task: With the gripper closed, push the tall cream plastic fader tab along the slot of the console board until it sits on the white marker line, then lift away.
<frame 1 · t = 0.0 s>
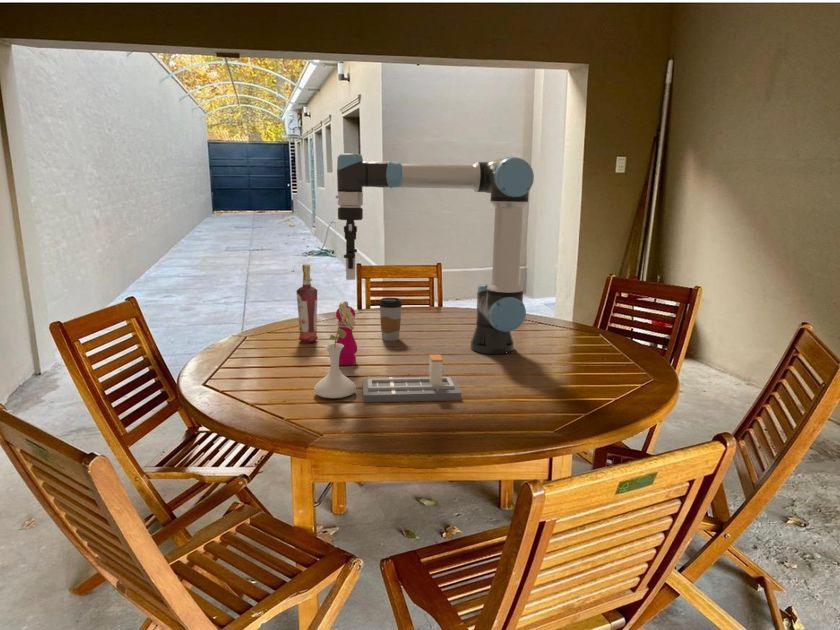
hand: (350, 276, 179), 28 cm above the table, fingers open, 13 cm apart
fader: (435, 370, 158), point 6 cm above the table, slide at -7.0 cm
console: (410, 392, 159), on the table
pepper mill: (346, 362, 185), on the table
flower in vase: (337, 394, 157), on the table
coffee cup: (390, 339, 214), on the table
liquor: (308, 342, 209), on the table
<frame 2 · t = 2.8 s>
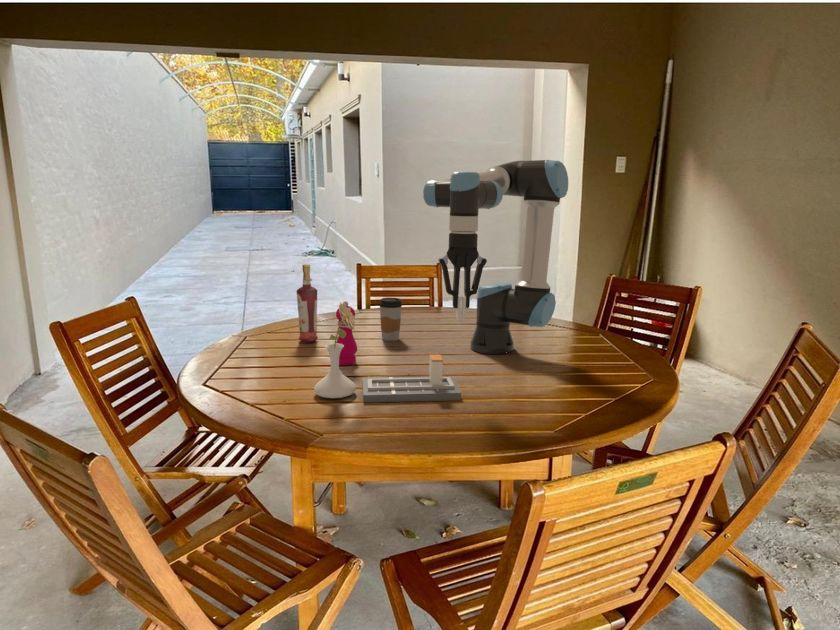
hand: (460, 319, 156), 20 cm above the table, fingers closed
nothing on the table moved.
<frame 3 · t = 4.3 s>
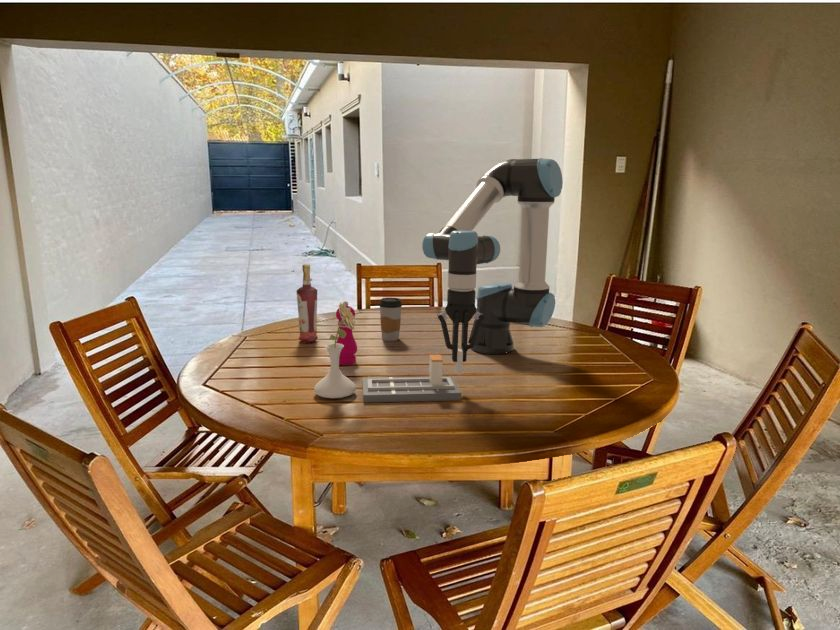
hand: (458, 372, 159), 5 cm above the table, fingers closed
nothing on the table moved.
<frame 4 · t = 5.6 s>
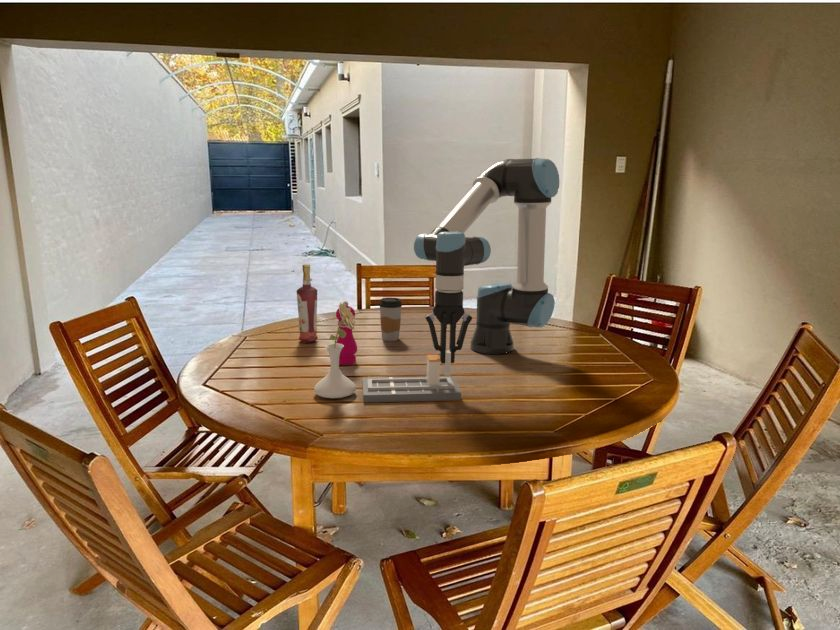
hand: (446, 374, 159), 5 cm above the table, fingers closed
fader: (433, 370, 158), point 6 cm above the table, slide at -6.2 cm, touching gripper
everything else where it was.
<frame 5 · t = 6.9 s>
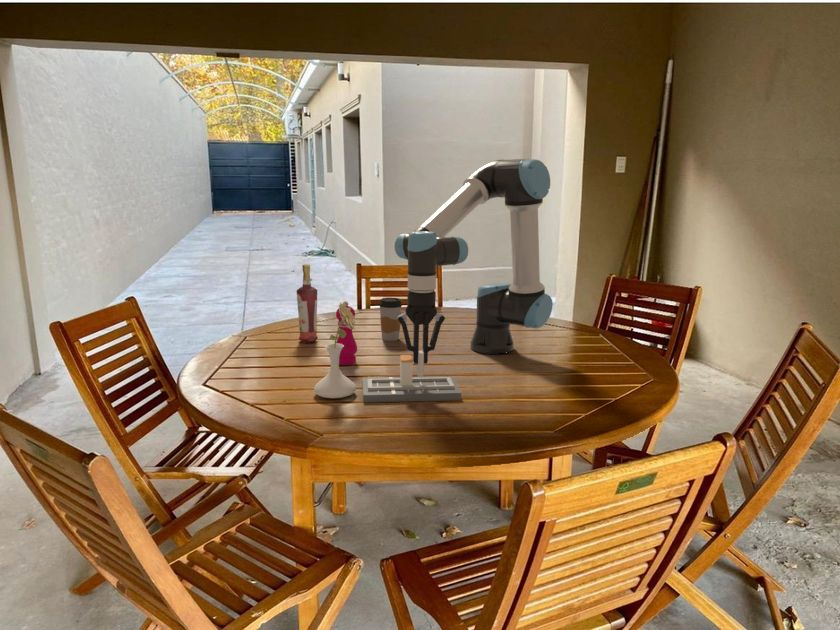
hand: (420, 374, 158), 5 cm above the table, fingers closed
fader: (406, 371, 157), point 6 cm above the table, slide at 1.2 cm, touching gripper
everything else where it was.
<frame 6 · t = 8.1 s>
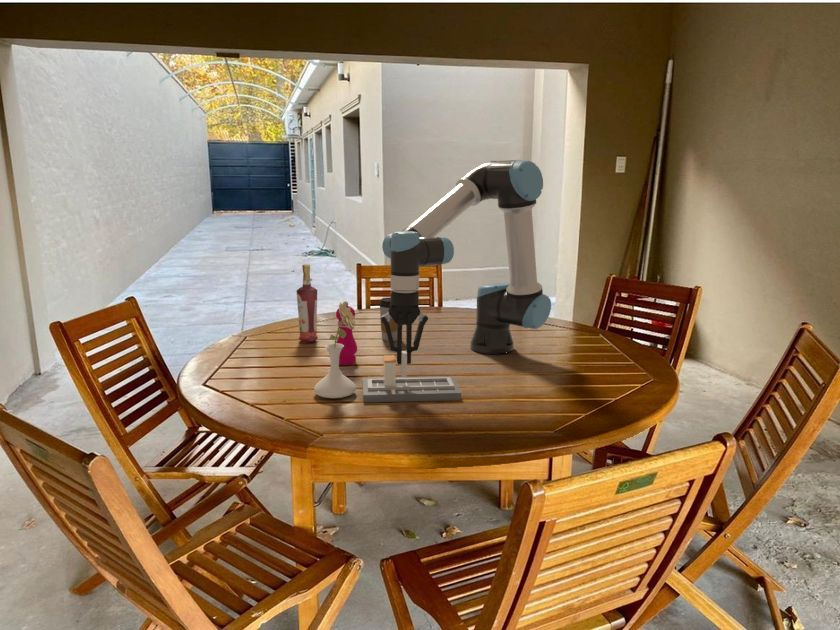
hand: (403, 374, 158), 5 cm above the table, fingers closed
fader: (389, 371, 157), point 6 cm above the table, slide at 5.8 cm, touching gripper
everything else where it was.
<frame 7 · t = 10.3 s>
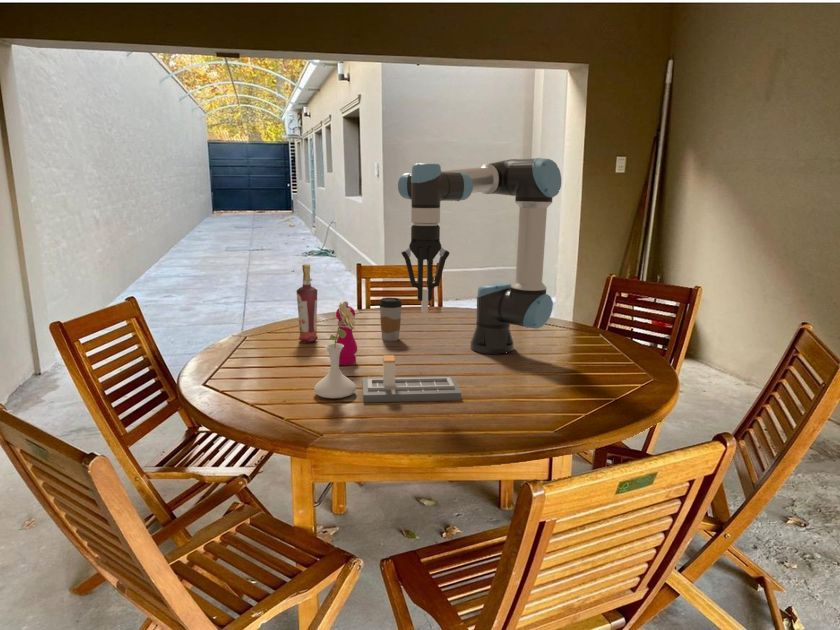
hand: (424, 312, 156), 22 cm above the table, fingers closed
fader: (388, 371, 157), point 6 cm above the table, slide at 5.9 cm
everything else where it was.
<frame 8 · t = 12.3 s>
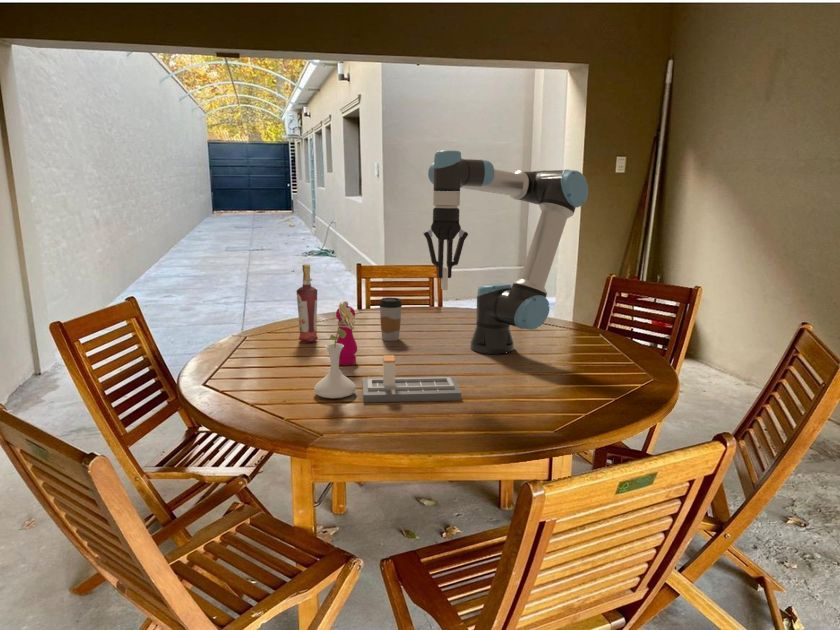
hand: (444, 289, 168), 26 cm above the table, fingers closed
nothing on the table moved.
at the end: fader slide at 5.9 cm; fader touching nothing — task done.
